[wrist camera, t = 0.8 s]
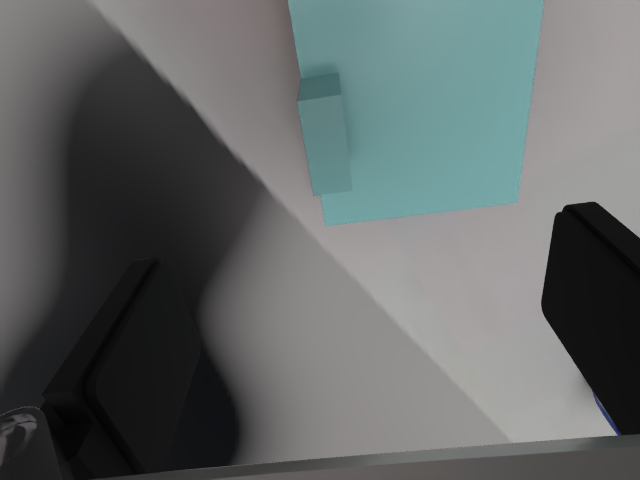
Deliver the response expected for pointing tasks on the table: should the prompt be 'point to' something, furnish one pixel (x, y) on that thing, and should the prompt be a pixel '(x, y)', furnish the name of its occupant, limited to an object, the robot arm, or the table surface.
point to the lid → (414, 102)
